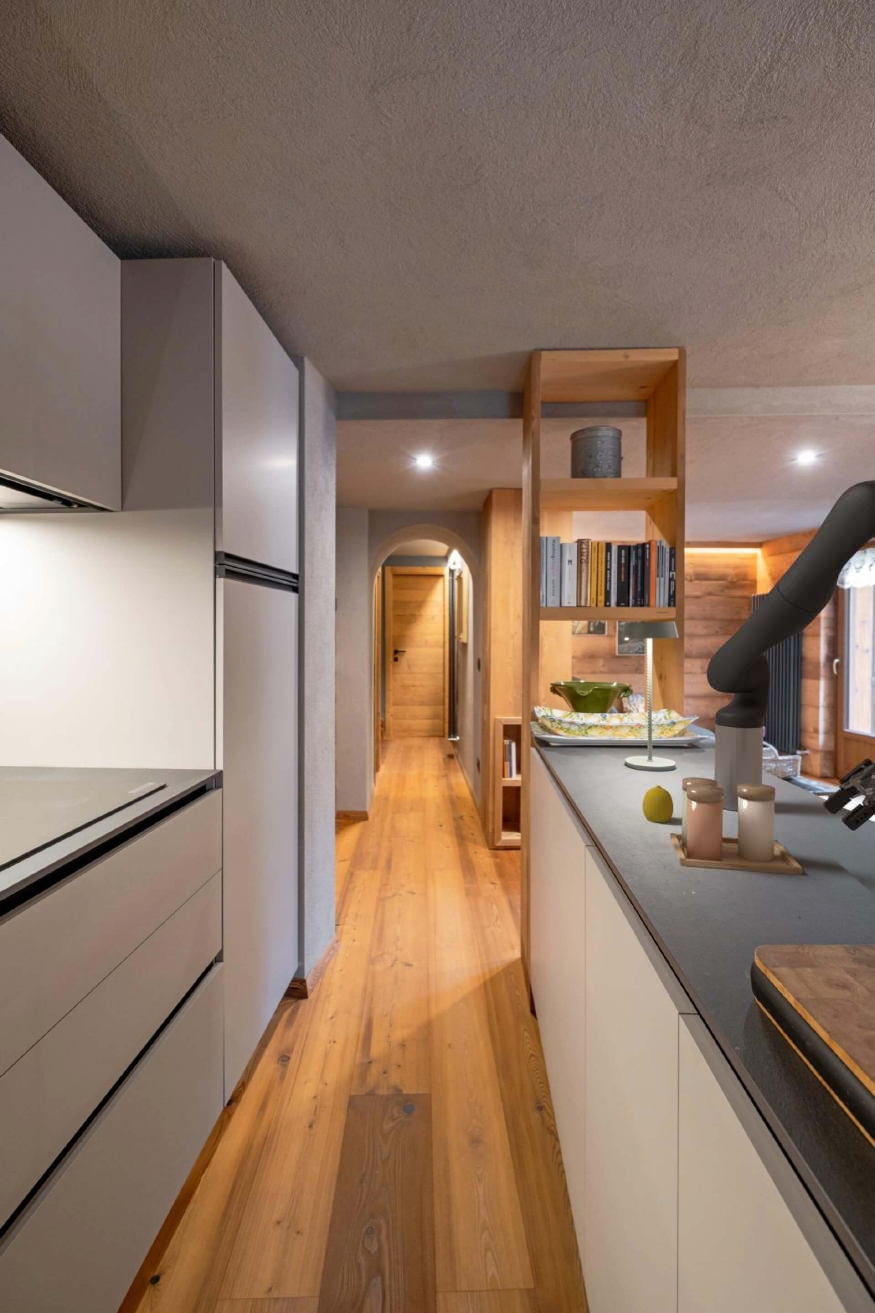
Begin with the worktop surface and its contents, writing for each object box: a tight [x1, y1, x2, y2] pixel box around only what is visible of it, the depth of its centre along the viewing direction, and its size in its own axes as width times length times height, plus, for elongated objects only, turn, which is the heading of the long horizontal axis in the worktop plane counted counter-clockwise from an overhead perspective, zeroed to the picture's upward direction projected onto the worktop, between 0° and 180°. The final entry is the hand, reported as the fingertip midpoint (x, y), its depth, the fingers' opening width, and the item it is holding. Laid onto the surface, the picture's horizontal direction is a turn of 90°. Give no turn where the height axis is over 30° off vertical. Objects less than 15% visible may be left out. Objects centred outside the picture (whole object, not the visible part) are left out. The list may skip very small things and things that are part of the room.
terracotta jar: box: [686, 785, 724, 861], centre depth 106 cm, size 5×5×11 cm
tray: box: [669, 832, 804, 876], centre depth 108 cm, size 14×17×2 cm
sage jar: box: [681, 776, 718, 849], centre depth 111 cm, size 5×5×11 cm
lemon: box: [642, 785, 674, 824], centre depth 127 cm, size 6×6×8 cm
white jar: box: [737, 783, 776, 862], centre depth 107 cm, size 5×5×11 cm
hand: (836, 817), depth 104 cm, fingers open, 8 cm apart
